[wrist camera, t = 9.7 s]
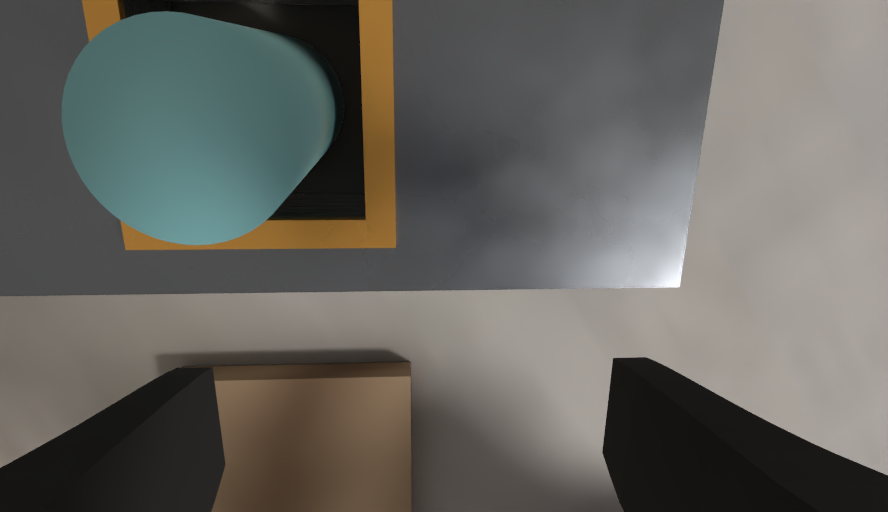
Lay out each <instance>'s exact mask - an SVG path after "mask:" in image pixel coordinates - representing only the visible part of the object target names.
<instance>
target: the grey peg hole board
mask: <svg viewBox="0 0 888 512" xmlns="http://www.w3.org/2000/svg"><path fill="white" fill-rule="evenodd" d="M170 2H207V3H257V4H308V5H358V6H359V26H360V57H361V88H362V119H363V150H364V181H365V193H290V195H289V196H288V197H287V198H286V199H285V200H284V202H283V203H282V204H281V205H280V206H279V207H278V209H277V210H276V211H275V212H274V213H273V214H272V215H271V216H270V217H269V218H268V219H267V220H266V221H265V222H264V223H262V224H261V225H259V226H258V227H257V228H255V229H254V230H252V231H250V232H248V233H246V234H244V235H242V236H240V237H238V238H235V239H232V240H229V241H226V242H221V243H216V244H208V245H184V244H178V243H172V242H167V241H164V240H160V239H157V238H154V237H151V236H149V235H146V234H144V233H142V232H139V231H138V230H136V229H134V228H132V227H130V226H129V225H127V224H125V223H124V222H122V221H121V220H120V219H118V218H117V217H115V216H114V215H113V214H112V213H110V212H109V211H108V210H107V209H106V208H105V207H104V206H103V205H102V204H101V203H100V202H99V201H98V200H97V199H96V198H95V197H94V196H93V194H92V193H91V192H90V191H89V189H88V188H87V187H86V185H85V184H84V182H83V181H82V180H81V178H80V176H79V174H78V172H77V170H76V169H75V167H74V165H73V162H72V160H71V157H70V155H69V152H68V150H67V146H66V142H65V138H64V134H63V126H62V99H63V92H64V87H65V84H66V81H67V77H68V74H69V72H70V70H71V68H72V66H73V64H74V62H75V60H76V58H77V57H78V55H79V54H80V53H81V51H82V50H83V48H84V47H85V46H86V45H87V44H88V43H89V42H90V41H91V40H92V39H93V38H94V37H95V36H96V35H98V34H99V33H100V32H101V31H103V30H104V29H105V28H107V27H109V26H111V25H112V24H114V23H116V22H118V21H120V20H123V19H126V18H128V17H131V16H134V15H138V14H143V13H149V12H163V11H170V12H171V4H170ZM723 4H724V0H0V296H46V295H122V294H198V293H274V292H349V291H425V290H501V289H577V288H653V287H679V286H680V280H681V273H682V267H683V261H684V254H685V248H686V241H687V235H688V229H689V222H690V216H691V209H692V203H693V196H694V190H695V184H696V177H697V171H698V164H699V158H700V152H701V145H702V139H703V132H704V126H705V120H706V113H707V107H708V100H709V94H710V88H711V81H712V75H713V68H714V62H715V56H716V49H717V43H718V36H719V30H720V24H721V17H722V11H723Z"/></svg>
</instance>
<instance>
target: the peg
mask: <svg viewBox="0 0 888 512" xmlns="http://www.w3.org/2000/svg"><path fill="white" fill-rule="evenodd" d="M343 117H344V97H343V92H342V87H341V84H340V82H339V79H338V77H337V75H336V73H335V71H334V69H333V68H332V66H331V65H330V63H329V62H328V61H327V60H326V59H325V58H324V56H323V55H322V54H320V53H319V52H318V51H317V50H316V49H315V48H313V47H312V46H310V45H309V44H307V43H305V42H303V41H302V40H300V39H297V38H294V37H291V36H287V35H283V34H278V33H274V32H269V31H264V30H260V29H255V28H251V27H246V26H242V25H237V24H233V23H228V22H224V21H219V20H214V19H210V18H205V17H201V16H196V15H192V14H187V13H181V12H170V11H163V12H149V13H143V14H138V15H134V16H131V17H128V18H126V19H123V20H120V21H118V22H116V23H114V24H112V25H111V26H109V27H107V28H105V29H104V30H103V31H101V32H100V33H99V34H98V35H96V36H95V37H94V38H93V39H92V40H91V41H90V42H89V43H88V44H87V45H86V46H85V47H84V48H83V50H82V51H81V53H80V54H79V55H78V57H77V58H76V60H75V62H74V64H73V66H72V68H71V70H70V72H69V74H68V77H67V81H66V84H65V87H64V92H63V99H62V126H63V134H64V138H65V142H66V146H67V150H68V152H69V155H70V157H71V160H72V162H73V165H74V167H75V169H76V170H77V172H78V174H79V176H80V178H81V180H82V181H83V182H84V184H85V185H86V187H87V188H88V189H89V191H90V192H91V193H92V194H93V196H94V197H95V198H96V199H97V200H98V201H99V202H100V203H101V204H102V205H103V206H104V207H105V208H106V209H107V210H108V211H109V212H110V213H112V214H113V215H114V216H115V217H117V218H118V219H120V220H121V221H122V222H124V223H125V224H127V225H129V226H130V227H132V228H134V229H136V230H138V231H139V232H142V233H144V234H146V235H149V236H151V237H154V238H157V239H160V240H164V241H167V242H172V243H178V244H184V245H208V244H216V243H221V242H226V241H229V240H232V239H235V238H238V237H240V236H242V235H244V234H246V233H248V232H250V231H252V230H254V229H255V228H257V227H258V226H259V225H261V224H262V223H264V222H265V221H266V220H267V219H268V218H269V217H270V216H271V215H272V214H273V213H274V212H275V211H276V210H277V209H278V207H279V206H280V205H281V204H282V203H283V202H284V200H285V199H286V198H287V197H288V196H289V195H290V193H291V192H292V191H293V190H294V189H295V188H296V186H297V185H298V184H299V183H300V182H301V181H302V179H303V178H304V177H305V176H306V175H307V174H308V172H309V171H310V170H311V169H312V168H313V167H314V165H315V164H316V163H317V162H318V161H319V160H320V158H321V157H322V156H323V155H324V154H325V153H326V151H327V150H328V149H329V148H330V147H331V145H332V144H333V143H334V141H335V139H336V138H337V136H338V134H339V131H340V129H341V126H342V122H343Z"/></svg>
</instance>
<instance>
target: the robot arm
mask: <svg viewBox="0 0 888 512" xmlns="http://www.w3.org/2000/svg"><path fill="white" fill-rule="evenodd" d="M603 455H604V458H605V461H606V464H607V467H608V471H609V474H610V477H611V480H612V482H613V485H614V488H615V491H616V493H617V496H618V499H619V502H620V504H621V506H622V508H623V510H624V512H888V475H885V474H883V473H880V472H878V471H875V470H873V469H871V468H868V467H866V466H863V465H861V464H859V463H856V462H854V461H851V460H849V459H847V458H844V457H842V456H839V455H837V454H835V453H832V452H830V451H828V450H826V449H823V448H821V447H819V446H817V445H815V444H812V443H810V442H808V441H806V440H804V439H802V438H800V437H798V436H796V435H794V434H792V433H790V432H788V431H786V430H784V429H782V428H780V427H778V426H776V425H774V424H771V423H770V422H768V421H766V420H764V419H762V418H760V417H758V416H756V415H754V414H752V413H750V412H748V411H747V410H745V409H743V408H741V407H739V406H737V405H735V404H734V403H732V402H730V401H728V400H726V399H724V398H723V397H721V396H719V395H717V394H715V393H714V392H712V391H710V390H708V389H706V388H705V387H703V386H701V385H699V384H697V383H696V382H694V381H692V380H690V379H688V378H686V377H685V376H683V375H681V374H679V373H677V372H675V371H674V370H672V369H670V368H668V367H666V366H664V365H662V364H660V363H658V362H656V361H653V360H651V359H649V358H646V357H643V358H613V365H612V374H611V383H610V391H609V400H608V409H607V418H606V426H605V435H604V444H603ZM225 465H226V464H225V457H224V449H223V442H222V434H221V427H220V419H219V411H218V404H217V396H216V389H215V381H214V374H213V367H195V368H176V369H174V370H172V371H169V372H167V373H165V374H164V375H162V376H160V377H158V378H156V379H154V380H153V381H151V382H149V383H148V384H146V385H144V386H142V387H141V388H139V389H137V390H136V391H134V392H132V393H131V394H129V395H127V396H126V397H124V398H122V399H121V400H119V401H117V402H116V403H114V404H112V405H111V406H109V407H107V408H106V409H104V410H102V411H101V412H99V413H97V414H96V415H94V416H92V417H91V418H89V419H87V420H86V421H84V422H82V423H81V424H79V425H77V426H76V427H74V428H72V429H70V430H69V431H67V432H65V433H63V434H61V435H60V436H58V437H56V438H54V439H52V440H51V441H49V442H47V443H45V444H43V445H41V446H40V447H38V448H36V449H34V450H32V451H31V452H29V453H27V454H25V455H23V456H22V457H20V458H18V459H16V460H14V461H13V462H11V463H9V464H7V465H5V466H3V467H1V468H0V512H211V511H212V508H213V505H214V502H215V499H216V496H217V492H218V489H219V486H220V482H221V479H222V475H223V472H224V468H225Z"/></svg>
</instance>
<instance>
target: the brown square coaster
mask: <svg viewBox="0 0 888 512" xmlns="http://www.w3.org/2000/svg"><path fill="white" fill-rule="evenodd" d="M198 367H213V374H214V381H215V389H216V396H217V404H218V411H219V419H220V427H221V434H222V442H223V449H224V457H225V464H226V465H225V468H224V472H223V475H222V479H221V482H220V486H219V489H218V492H217V496H216V499H215V502H214V505H213V508H212V511H211V512H412V499H411V368H410V362H384V363H337V364H291V365H244V366H198ZM182 368H195V367H182Z"/></svg>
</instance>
